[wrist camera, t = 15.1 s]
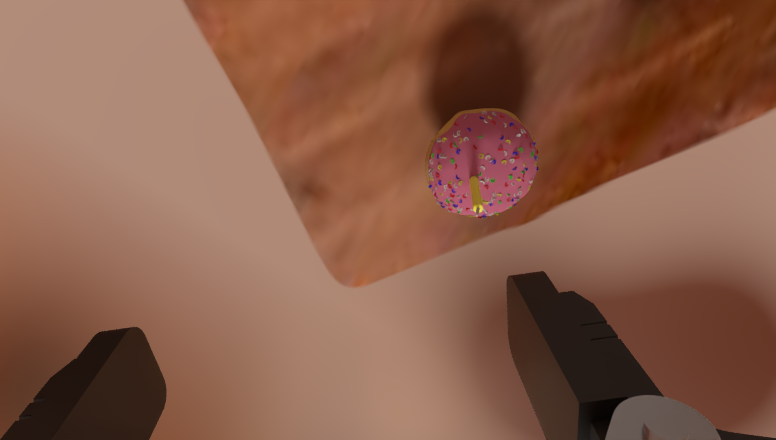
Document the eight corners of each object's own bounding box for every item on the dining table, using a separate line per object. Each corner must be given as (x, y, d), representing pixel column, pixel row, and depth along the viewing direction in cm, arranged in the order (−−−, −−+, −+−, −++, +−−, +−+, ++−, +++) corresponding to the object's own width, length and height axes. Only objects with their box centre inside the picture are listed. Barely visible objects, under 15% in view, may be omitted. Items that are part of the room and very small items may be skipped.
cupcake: (440, 208, 42) (466, 281, 32) (402, 122, 39) (418, 171, 28) (531, 170, 41) (592, 232, 31) (501, 78, 38) (558, 111, 27)
